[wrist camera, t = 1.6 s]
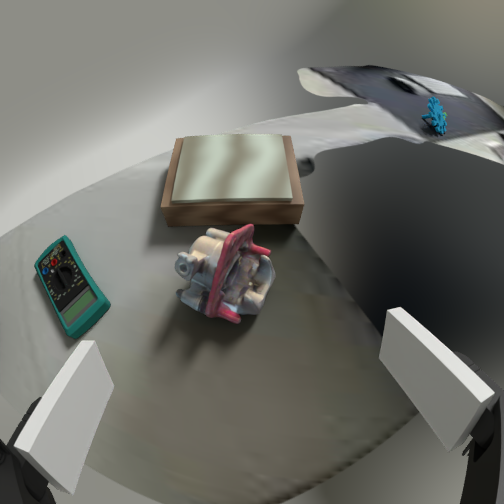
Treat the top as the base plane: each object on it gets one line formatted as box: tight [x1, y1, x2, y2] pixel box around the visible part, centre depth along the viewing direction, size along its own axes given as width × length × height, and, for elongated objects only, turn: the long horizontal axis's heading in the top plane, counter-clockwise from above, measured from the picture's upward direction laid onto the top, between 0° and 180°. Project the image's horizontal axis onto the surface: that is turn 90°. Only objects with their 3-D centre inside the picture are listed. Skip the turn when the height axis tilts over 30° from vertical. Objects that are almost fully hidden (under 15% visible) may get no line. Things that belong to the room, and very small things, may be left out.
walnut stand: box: [161, 134, 304, 227], centre depth 39 cm, size 18×14×5 cm
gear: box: [422, 97, 447, 134], centre depth 53 cm, size 11×6×10 cm
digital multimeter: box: [34, 235, 111, 339], centre depth 31 cm, size 7×15×3 cm, turn 47°
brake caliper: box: [175, 224, 275, 324], centre depth 30 cm, size 11×11×12 cm
